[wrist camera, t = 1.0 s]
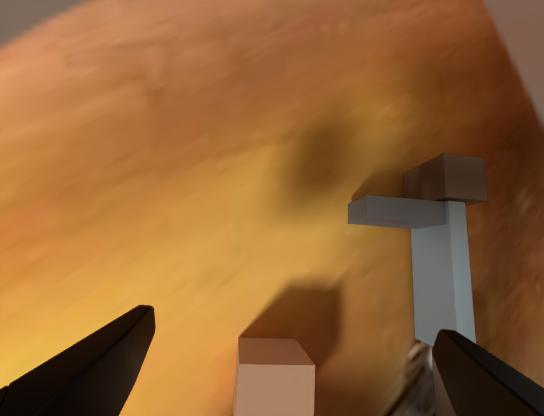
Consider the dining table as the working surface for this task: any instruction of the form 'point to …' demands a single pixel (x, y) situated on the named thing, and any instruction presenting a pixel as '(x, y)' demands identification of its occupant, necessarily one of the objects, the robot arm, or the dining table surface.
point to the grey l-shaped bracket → (429, 259)
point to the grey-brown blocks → (445, 187)
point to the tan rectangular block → (273, 378)
